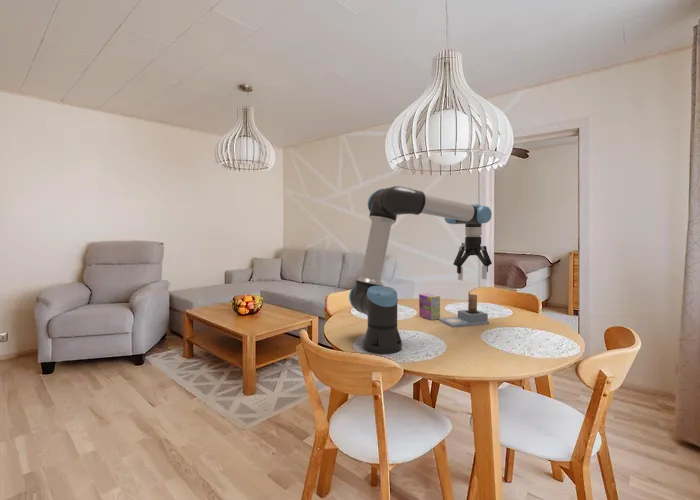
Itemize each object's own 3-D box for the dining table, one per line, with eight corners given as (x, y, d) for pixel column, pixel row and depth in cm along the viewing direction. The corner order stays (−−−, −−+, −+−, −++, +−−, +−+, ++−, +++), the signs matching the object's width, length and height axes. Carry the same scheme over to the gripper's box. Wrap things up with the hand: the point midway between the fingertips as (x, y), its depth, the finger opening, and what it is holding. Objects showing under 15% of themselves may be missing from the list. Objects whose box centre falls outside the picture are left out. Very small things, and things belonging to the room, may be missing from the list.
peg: (478, 319, 171) (478, 295, 170) (471, 320, 170) (471, 296, 169) (473, 317, 175) (473, 294, 174) (466, 318, 174) (466, 294, 173)
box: (418, 315, 185) (418, 293, 184) (427, 314, 187) (427, 292, 187) (431, 320, 176) (431, 297, 175) (440, 319, 178) (440, 296, 177)
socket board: (488, 323, 168) (489, 314, 168) (452, 327, 163) (452, 317, 162) (473, 317, 180) (473, 308, 179) (439, 321, 174) (439, 311, 174)
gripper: (489, 236, 177) (488, 277, 178) (446, 236, 170) (445, 279, 171) (500, 236, 170) (499, 279, 171) (455, 236, 163) (454, 281, 164)
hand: (472, 279), depth 171 cm, fingers open, 13 cm apart
